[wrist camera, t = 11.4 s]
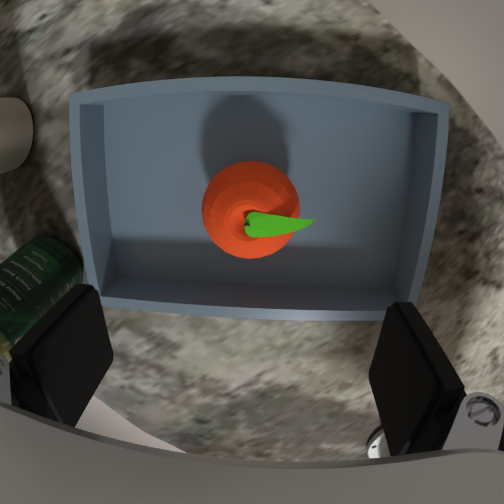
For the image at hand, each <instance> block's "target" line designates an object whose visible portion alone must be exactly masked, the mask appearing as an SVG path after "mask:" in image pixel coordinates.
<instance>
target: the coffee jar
mask: <svg viewBox="0 0 504 504" xmlns="http://www.w3.org/2000/svg"><path fill="white" fill-rule="evenodd" d="M82 280H83V268H82V265H81V263H80V261H79V259H78V257H77V256H76V255H75V254H74V253H73V251H72V250H71V249H70V248H69V247H67V246H66V245H65V244H64V243H62V242H60V241H59V240H57V239H55V238H53V237H51V236H48V235H39V236H37V237H35V238H33V239H32V240H30V241H29V242H28V243H26V244H25V245H23V246H22V247H21V248H20V249H18V250H17V251H16V252H15V253H13V254H12V255H11V256H10V257H8V258H7V259H6V260H5V261H3V262H2V263H1V264H0V355H1V356H3V357H5V358H6V359H7V360H8V361H9V362H10V361H11V360H12V358H11V355H10V353H9V350H10V349H11V348H12V347H13V346H14V345H15V344H16V343H17V342H18V341H19V340H20V339H21V338H22V337H23V336H24V335H25V333H26V332H27V331H28V330H29V329H30V328H31V327H32V326H33V325H34V324H35V323H36V322H37V321H38V320H39V319H40V318H41V317H42V316H43V315H44V314H45V313H46V312H47V311H48V310H49V309H50V308H51V307H52V306H53V305H54V304H55V303H56V302H57V301H59V300H60V299H61V298H62V297H63V296H64V295H65V294H66V293H67V292H68V291H69V290H70V289H71V288H72V287H73V286H74V285H76V284H77V283H79V284H82Z"/></svg>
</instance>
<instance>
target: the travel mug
mask: <svg viewBox="0 0 504 504" xmlns="http://www.w3.org/2000/svg"><path fill="white" fill-rule="evenodd" d="M32 139H33V121H32V117H31V113H30V111H29V109H28V107H27V105H26V104H25V103H24V102H23V101H22V100H20V99H18V98H14V97H10V98H0V174H2V173H5V172H8V171H11V170H14V169H16V168H18V167H19V166H20V165H21V164H22V163H23V162H24V161H25V159H26V158H27V156H28V154H29V151H30V148H31V145H32Z"/></svg>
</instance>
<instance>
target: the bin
mask: <svg viewBox="0 0 504 504" xmlns="http://www.w3.org/2000/svg"><path fill="white" fill-rule="evenodd" d="M449 111H450V103H447V102H443V101H439V100H435V99H431V98H427V97H422V96H418V95H413V94H408V93H404V92H398V91H393V90H388V89H382V88H376V87H370V86H363V85H356V84H349V83H341V82H332V81H323V80H312V79H299V78H282V77H249V76H230V77H197V78H180V79H167V80H156V81H147V82H138V83H130V84H123V85H116V86H110V87H103V88H98V89H92V90H87V91H81V92H76V93H72V94H69V126H70V150H71V165H72V178H73V188H74V197H75V206H76V214H77V221H78V228H79V235H80V241H81V247H82V253H83V258H84V264H85V269H86V274H87V279H88V283H89V285H93V286H94V288H95V290H98V292H99V295H100V300H101V305H102V306H107V307H116V308H125V309H134V310H144V311H154V312H165V313H176V314H189V315H202V316H217V317H233V318H252V319H276V320H309V321H384V318H385V314H386V310H387V308H388V307H389V306H392V304H393V303H394V302H412V303H413V304H414V306H415V307H416V305H417V302H418V298H419V295H420V291H421V288H422V284H423V280H424V276H425V272H426V268H427V264H428V260H429V256H430V251H431V247H432V242H433V237H434V232H435V227H436V222H437V216H438V211H439V205H440V199H441V192H442V185H443V178H444V170H445V162H446V152H447V142H448V129H449ZM242 161H258V162H264V163H267V164H269V165H271V166H273V167H276V168H278V169H279V170H280V171H281V172H283V173H284V174H285V175H286V176H287V177H288V178H289V179H290V181H291V182H292V184H293V185H294V187H295V189H296V191H297V194H298V197H299V203H300V215H299V218H300V219H313V218H316V219H315V220H314V221H313V223H312V224H310V225H308V226H307V227H305V228H303V229H300V230H297V231H295V232H294V234H293V236H292V238H291V239H290V240H289V241H288V242H287V243H286V244H285V245H284V246H283V247H282V248H281V249H279V250H278V251H276V252H274V253H273V254H270V255H267V256H264V257H261V258H251V259H247V258H241V257H236V256H234V255H232V254H229V253H227V252H225V251H224V250H223V249H221V248H220V247H219V246H217V245H216V244H215V243H214V241H213V240H212V239H211V238H210V236H209V235H208V233H207V231H206V229H205V227H204V224H203V220H202V213H201V209H202V201H203V196H204V193H205V191H206V189H207V186H208V184H209V183H210V181H211V180H212V179H213V178H214V176H215V175H216V174H217V173H218V172H220V171H221V170H223V169H224V168H225V167H227V166H229V165H232V164H235V163H237V162H242Z"/></svg>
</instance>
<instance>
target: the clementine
mask: <svg viewBox="0 0 504 504" xmlns="http://www.w3.org/2000/svg"><path fill="white" fill-rule="evenodd" d="M201 213H202V220H203V224H204V227H205V229H206V231H207V233H208V235H209V236H210V238H211V239H212V240H213V241H214V243H215V244H216V245H217V246H219V247H220V248H221V249H223V250H224V251H225V252H227V253H229V254H232V255H234V256H236V257H241V258H247V259H251V258H261V257H264V256H267V255H270V254H273V253H274V252H276V251H278V250H279V249H281V248H282V247H283V246H284V245H285V244H286V243H287V242H288V241H289V240H290V239H291V238H292V236H293V234H294V232H295V231H297V230H300V229H303V228H305V227H307V226H308V225H310V224H312V223H313V221H314V220H315V219H316V218H313V219H300V218H299V215H300V203H299V197H298V194H297V191H296V189H295V187H294V185H293V184H292V182H291V181H290V179H289V178H288V177H287V176H286V175H285V174H284V173H283V172H281V171H280V170H279V169H278V168H276V167H273V166H271V165H269V164H267V163H264V162H258V161H242V162H237V163H235V164H232V165H229V166H227V167H225V168H224V169H223V170H221V171H220V172H218V173H217V174H216V175H215V176H214V178H213V179H212V180H211V181H210V183H209V184H208V186H207V189H206V191H205V193H204V196H203V201H202V209H201Z"/></svg>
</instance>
